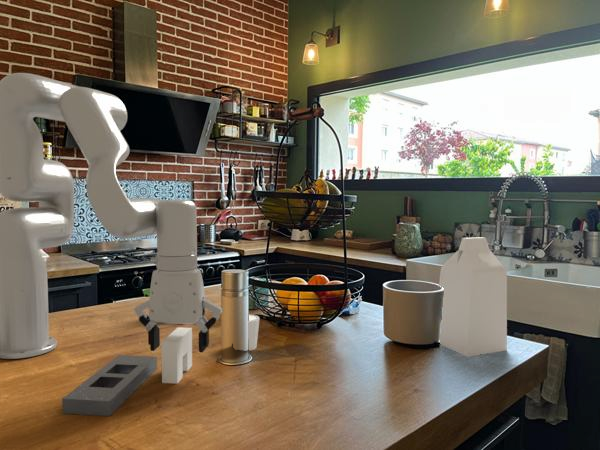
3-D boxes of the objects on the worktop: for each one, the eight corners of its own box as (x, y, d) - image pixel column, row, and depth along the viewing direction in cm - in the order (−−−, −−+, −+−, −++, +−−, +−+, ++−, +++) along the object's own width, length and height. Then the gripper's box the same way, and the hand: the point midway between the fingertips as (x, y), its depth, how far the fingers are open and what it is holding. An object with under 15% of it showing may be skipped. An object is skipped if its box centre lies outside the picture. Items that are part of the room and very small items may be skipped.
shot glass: (254, 353, 106) (254, 322, 106) (225, 350, 108) (225, 320, 107) (262, 343, 113) (263, 314, 112) (235, 341, 114) (235, 312, 114)
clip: (161, 382, 90) (161, 341, 89) (178, 364, 99) (177, 327, 98) (177, 383, 90) (177, 342, 89) (192, 365, 99) (192, 327, 98)
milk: (471, 335, 122) (475, 234, 119) (506, 350, 111) (512, 239, 109) (433, 341, 117) (437, 236, 115) (466, 356, 106) (472, 241, 104)
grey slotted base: (62, 413, 77) (62, 398, 77) (119, 366, 97) (118, 354, 97) (109, 416, 77) (109, 401, 76) (157, 368, 97) (156, 356, 96)
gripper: (125, 265, 89) (128, 354, 91) (216, 267, 88) (217, 357, 89) (142, 259, 97) (144, 341, 98) (225, 261, 95) (226, 344, 97)
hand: (178, 349), depth 94 cm, fingers open, 9 cm apart
